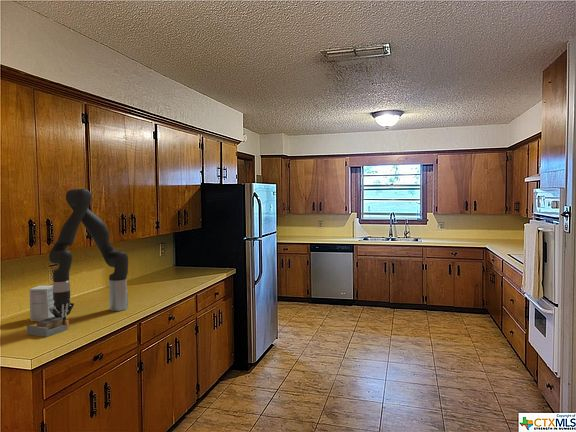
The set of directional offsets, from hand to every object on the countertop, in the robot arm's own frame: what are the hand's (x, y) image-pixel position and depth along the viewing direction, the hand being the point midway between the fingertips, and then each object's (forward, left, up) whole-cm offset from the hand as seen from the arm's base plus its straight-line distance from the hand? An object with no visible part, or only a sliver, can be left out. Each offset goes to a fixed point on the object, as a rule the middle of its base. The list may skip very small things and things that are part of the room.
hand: (62, 324), depth 210 cm
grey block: (+8, 0, -1) cm, 8 cm away
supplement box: (-8, -21, -1) cm, 22 cm away
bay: (+8, 0, -1) cm, 8 cm away
